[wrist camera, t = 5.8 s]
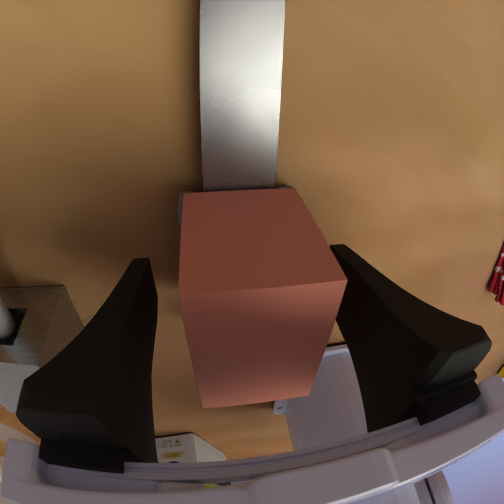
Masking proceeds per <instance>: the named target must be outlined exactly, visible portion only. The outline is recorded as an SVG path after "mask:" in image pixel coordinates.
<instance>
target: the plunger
mask: <svg viewBox="0 0 504 504" xmlns="http://www.w3.org/2000/svg"><path fill="white" fill-rule="evenodd" d="M15 327H16V322H15V320H14V319H13V317H12V315H11V314H10V312H9V310H8V309H7V307H6V305H5V304H4V302H3V300H2V299H1V297H0V339H4V338H7V337H9V336H10V335H11V334H12V333H13V331H14V330H15Z"/></svg>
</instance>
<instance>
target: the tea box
mask: <svg viewBox="0 0 504 504" xmlns="http://www.w3.org/2000/svg"><path fill="white" fill-rule="evenodd" d="M155 443H156V450H157V458H158V463H193V462H211V461H224V460H226V456H225V454H224V453H223V452H221V451H220V450H218V449H217V448H215V447H214V446H212V445H211V444H209V443H208V442H206V441H204V440H203V439H201V438H200V437H198V436H197V435H195V434H193V433H189V434H183V435H176V436H168V437H161V438H155ZM203 485H204V486H206V488H209V487H218V486H225V485H231V482H227V483H214V484H203Z"/></svg>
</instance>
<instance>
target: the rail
mask: <svg viewBox="0 0 504 504" xmlns="http://www.w3.org/2000/svg"><path fill="white" fill-rule="evenodd" d="M284 14H285V0H200V115H201V147H202V172H203V192H215V191H234V190H256V189H275V179H276V164H277V148H278V132H279V115H280V97H281V79H282V59H283V37H284Z"/></svg>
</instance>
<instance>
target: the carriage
mask: <svg viewBox="0 0 504 504" xmlns="http://www.w3.org/2000/svg"><path fill="white" fill-rule="evenodd" d="M177 216H178V224H179V233H180V241H181V242H180V263H179V291H178V295H179V301H180V306H181V312H182V317H183V322H184V327H185V332H186V337H187V341H188V346H189V351H190V355H191V360H192V364H193V369H194V373H195V377H196V382H197V386H198V390H199V394H200V398H201V402H202V406H203V408H214V407H226V406H236V405H245V404H254V403H262V402H269V401H276V400H283V399H289V398H295V397H301V396H307V395H309V393H310V390H311V388H312V385H313V382H314V380H315V377H316V374H317V372H318V369H319V366H320V363H321V361H322V358H323V355H324V352H325V349H326V346H327V344H328V341H329V338H330V335H331V332H332V329H333V326H334V323H335V319H336V316H337V313H338V310H339V307H340V304H341V300H342V297H343V294H344V290H345V287H346V284H347V278H346V276H345V274H344V272H343V270H342V269H341V267H340V265H339V263H338V261H337V260H336V258H335V256H334V254H333V252H332V251H331V249H330V247H329V245H328V244H327V242H326V240H325V238H324V237H323V235H322V233H321V231H320V230H319V228H318V226H317V224H316V223H315V221H314V219H313V218H312V216H311V214H310V213H309V211H308V209H307V208H306V206H305V204H304V203H303V201H302V199H301V198H300V196H299V194H298V193H297V191H296V189H295V188H293V187H292V186H286V187H279V189H256V190H234V191H215V192H199V193H193V191H184V192H179V198H178V208H177Z"/></svg>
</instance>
